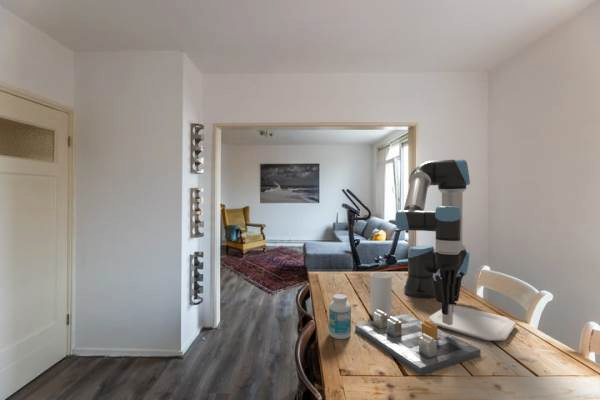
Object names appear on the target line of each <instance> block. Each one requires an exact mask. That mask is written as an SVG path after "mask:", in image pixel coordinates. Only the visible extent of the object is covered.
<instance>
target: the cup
mask: <svg viewBox="0 0 600 400" xmlns="http://www.w3.org/2000/svg"><path fill="white" fill-rule="evenodd" d="M392 279H393V278H392V275H391V274H390V273H386V272H372V273H370V315H371V316H372V317H374V312H376V310H377V309H378V310H380V311H382V312H384V313H385V314H387V318H389V317H390V316H392V314H393V313H392V308H393V307H392V305H393V304H392V303H393V302H392V301H393V300H392V296H393V295H392V294H393V293H392V282H393V281H392Z"/></svg>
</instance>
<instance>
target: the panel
mask: <svg viewBox="0 0 600 400" xmlns="http://www.w3.org/2000/svg"><path fill="white" fill-rule="evenodd" d="M422 323H424V321H423V320H421V319H418V318H416V317H414V316H413V315H410V314H408V313H405V314H401V315H400V314H399V315H395V316H392V315H391V316H390V317H389V318H387V314H385V313H384V312H382V311H380V310H378V309H377V310H376V312H374V316H373V320H371V321H366V322H361V323H357V324H356V323H355V325H354V328H355V331H356V332H357V333H358V334H360V335H361V336H362V337H364V338H365V339H367V340H368V341H371V343H373V344H375V345H376V346H377V347H378V348H380V349H382V350H383V351H384V352H386V353H387V354H389V355H390V356H392V357H394V359H396V360H398V361H399V362H400V363H402V364H403V365H404V366H406V367H407V368H409V369H411V370H412V371H413V372H415V373H416V374H418V375H419V376H421V377H422V376H424V375H426V374H430V373H432V372H435V371H439V370H442V369H444V368H448V367H450V366H455V365H457V364H459V363H463V362H466V361H469V360H472V359H475V358H478V357H481V348H479V347H478V346H477V347H476V346H475V345H473V344H471V343H469V342H466V341H465V340H462V339H460V338H458V337H457V336H454V335H451V334H450V333H448V332H445V331H443V330H441V329H439V328H437V339H434V338H432V337H430V336H428V335H426V334H424V333H423V334H422Z"/></svg>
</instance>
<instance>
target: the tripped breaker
mask: <svg viewBox="0 0 600 400" xmlns="http://www.w3.org/2000/svg"><path fill="white" fill-rule="evenodd" d="M423 322H424V323H422V334H423V333H424V334H426V335H428V336H430V337H432V338H434V339H437V329H438V325H435V324H434V323H433V322H432V321H431V320H430V321H429V319H424V321H423Z"/></svg>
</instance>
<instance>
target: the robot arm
mask: <svg viewBox="0 0 600 400" xmlns="http://www.w3.org/2000/svg"><path fill="white" fill-rule="evenodd" d="M469 173H470V171H469V166H468V162H467V160H465V159H462V158H460V159H459V158H458V159H457V158H456V159H455V158H454V159H442V160H440V159H439V160H428V161H425V162H422V163H420V164H419V165H418V166H417V167H415V168H414V169H413V171H411V173H410V175H409V178H408V184H409V187H408V191H407V195H406V199H405V203H404V207H403V209H402V210H400V209H399V210H398V211H397V210H396V212H395V217H394V219H395V220H394V221H395V227H396V228H397V229H398V230H404V231H418V232H420V231H422V232H435V247H434V246H433V245H415V246H411V247H409V248H408V250H407V251H408V252H407V279H406V281H405V285H404V290H403V292H404V293H405V294H406V295H408V296H411V297H414V298H420V299H432V298H435V299H436V302H437V303H440V304H441V309H442V322H443V323H445V324H447V325H453V306H457V302H458V301H459V299H460V292H461V286H462V280H463V277H465V276H466V275H467V273H468V270H469V262H470V256H471V255H470V252H469V251H467V248H466V246H465V245H464V244H463V194H464V193H463V192H465V191H466V190H467V186H469V185H470V184H471V180H470V174H469ZM430 186H438V187H437V189H438V191H439V192H440V193H441V205H440V206H439V205H438V206H436V208H435V210H425V207H426V202H427V200H426V199H427V195H428V188H429V187H430Z"/></svg>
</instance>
